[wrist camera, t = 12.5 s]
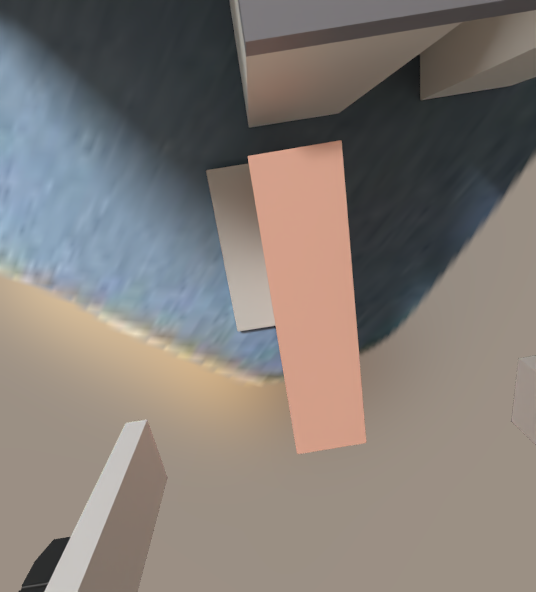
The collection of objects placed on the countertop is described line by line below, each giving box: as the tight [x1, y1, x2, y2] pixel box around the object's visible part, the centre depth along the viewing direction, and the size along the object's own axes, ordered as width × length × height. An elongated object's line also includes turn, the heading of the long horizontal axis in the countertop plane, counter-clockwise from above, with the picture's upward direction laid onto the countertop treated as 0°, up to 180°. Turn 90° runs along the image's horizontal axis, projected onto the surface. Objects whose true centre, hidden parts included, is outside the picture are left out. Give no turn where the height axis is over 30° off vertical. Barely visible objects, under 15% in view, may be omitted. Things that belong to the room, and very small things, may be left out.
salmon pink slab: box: [248, 140, 366, 454], centre depth 18 cm, size 3×12×11 cm, turn 9°
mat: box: [206, 163, 276, 331], centre depth 23 cm, size 8×11×1 cm
